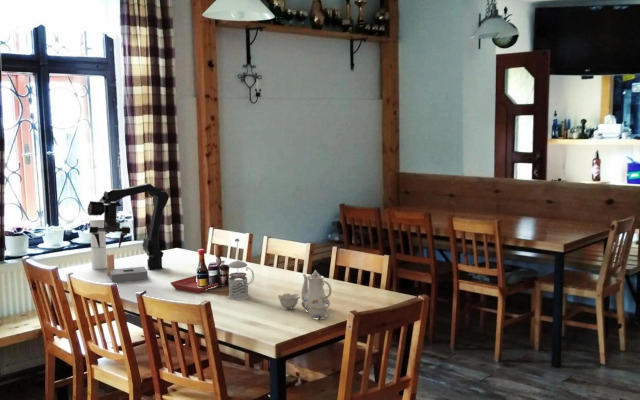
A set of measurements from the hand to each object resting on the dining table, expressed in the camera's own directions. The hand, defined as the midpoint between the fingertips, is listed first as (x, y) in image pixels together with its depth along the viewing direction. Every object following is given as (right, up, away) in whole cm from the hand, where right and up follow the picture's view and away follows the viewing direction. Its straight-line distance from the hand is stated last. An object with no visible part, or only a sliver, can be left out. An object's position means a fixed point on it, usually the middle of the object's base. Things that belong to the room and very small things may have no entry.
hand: (109, 247), depth 325 cm
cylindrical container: (-11, -12, +18) cm, 24 cm away
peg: (+1, -13, +1) cm, 14 cm away
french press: (+68, -18, -41) cm, 82 cm away
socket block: (+11, -14, -7) cm, 20 cm away
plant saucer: (+48, -17, -25) cm, 56 cm away
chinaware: (+98, -21, -65) cm, 119 cm away
